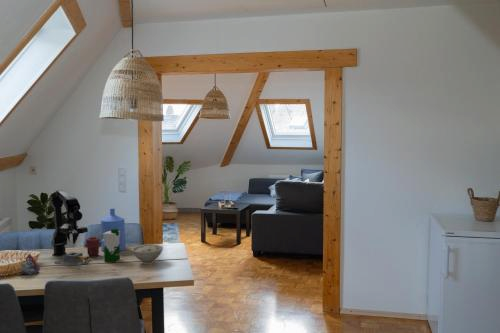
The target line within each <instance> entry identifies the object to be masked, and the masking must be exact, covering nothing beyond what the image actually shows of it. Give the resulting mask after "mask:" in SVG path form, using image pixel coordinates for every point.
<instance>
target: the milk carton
mask: <svg viewBox="0 0 500 333" xmlns="http://www.w3.org/2000/svg"><path fill="white" fill-rule="evenodd" d="M102 236H103V237H104V251H103V256H104V260H103V261H104V263H106V262H107V263H117V262H118V261H119V260H121V253H120V252H121V251H120V244H119V237H120V231H118V229H111V231H108V232H105V233H103V232H102ZM103 237H102V238H103Z"/></svg>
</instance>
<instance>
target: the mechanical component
mask: <svg viewBox="0 0 500 333" xmlns="http://www.w3.org/2000/svg"><path fill="white" fill-rule="evenodd" d="M84 247H85V248H87V256H88V258H92V257H99V253H100V247H102V242H100V237H96V236H90V237H87V238H86V239H85V244H84Z"/></svg>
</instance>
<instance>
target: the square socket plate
mask: <svg viewBox="0 0 500 333" xmlns="http://www.w3.org/2000/svg"><path fill="white" fill-rule="evenodd" d="M62 257H63V258H61V259H59V260H57V261H56V260H55V261H54V264H57V265H69V266H82V265H85V264H88V263H89V262H91V261H93V260H92V258H90V257H89V255H87V256H85V255H84V254H83V252H76V251H70V252H67V253H66V254H64V255H62Z"/></svg>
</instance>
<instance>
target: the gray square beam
mask: <svg viewBox="0 0 500 333" xmlns="http://www.w3.org/2000/svg"><path fill="white" fill-rule="evenodd" d="M69 247H70V248H75V247H76V243H75V244H74V243H73V235H72V233H71V234H70V242H69Z"/></svg>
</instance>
